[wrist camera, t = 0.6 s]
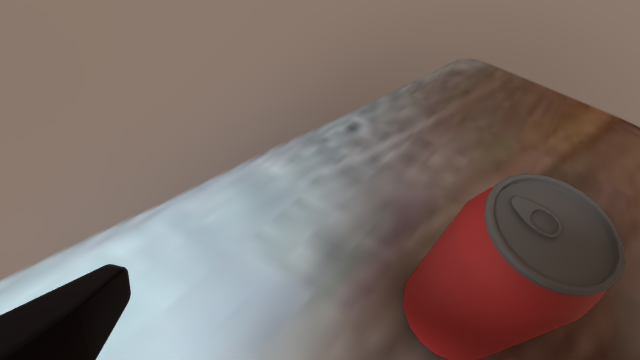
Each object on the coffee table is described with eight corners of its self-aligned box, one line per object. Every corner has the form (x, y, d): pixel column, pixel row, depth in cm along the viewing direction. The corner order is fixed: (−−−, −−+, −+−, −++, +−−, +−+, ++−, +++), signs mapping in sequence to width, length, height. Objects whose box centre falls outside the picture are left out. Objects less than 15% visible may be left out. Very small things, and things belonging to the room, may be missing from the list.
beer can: (439, 247, 27) (525, 141, 18) (516, 316, 25) (666, 237, 15) (380, 304, 24) (443, 215, 15) (459, 389, 22) (598, 350, 12)
